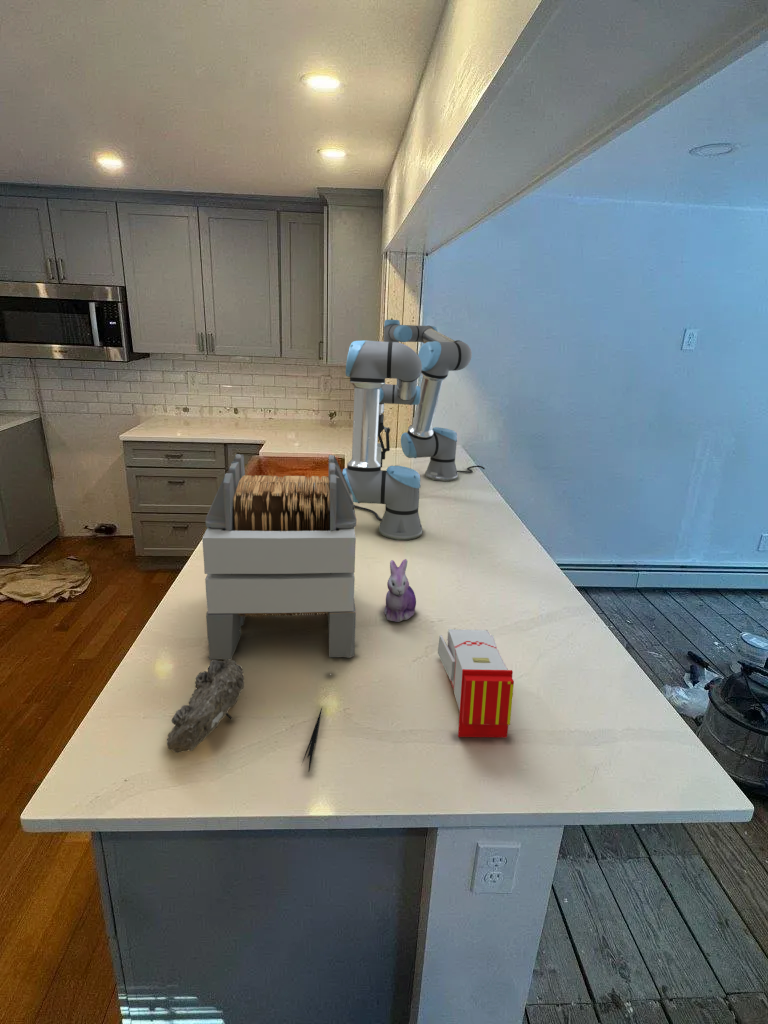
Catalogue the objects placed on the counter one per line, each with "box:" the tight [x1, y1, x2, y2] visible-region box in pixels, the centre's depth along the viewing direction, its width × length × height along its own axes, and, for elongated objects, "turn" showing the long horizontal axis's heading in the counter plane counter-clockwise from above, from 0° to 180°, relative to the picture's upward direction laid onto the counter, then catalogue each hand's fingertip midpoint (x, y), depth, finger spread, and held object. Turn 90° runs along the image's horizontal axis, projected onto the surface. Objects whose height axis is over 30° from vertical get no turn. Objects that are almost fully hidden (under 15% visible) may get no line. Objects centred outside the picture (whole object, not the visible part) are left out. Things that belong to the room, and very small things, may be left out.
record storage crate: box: [201, 453, 357, 661], centre depth 135 cm, size 34×33×41 cm
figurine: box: [384, 558, 417, 623], centre depth 145 cm, size 9×10×15 cm
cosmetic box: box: [377, 442, 382, 464], centre depth 245 cm, size 8×7×16 cm
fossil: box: [166, 658, 245, 754], centre depth 106 cm, size 22×10×15 cm
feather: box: [301, 673, 332, 771], centre depth 108 cm, size 2×28×2 cm
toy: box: [437, 628, 515, 738], centre depth 117 cm, size 12×13×30 cm
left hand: (372, 466), depth 246 cm, fingers closed on cosmetic box, 6 cm apart
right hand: (388, 396), depth 284 cm, fingers open, 13 cm apart
